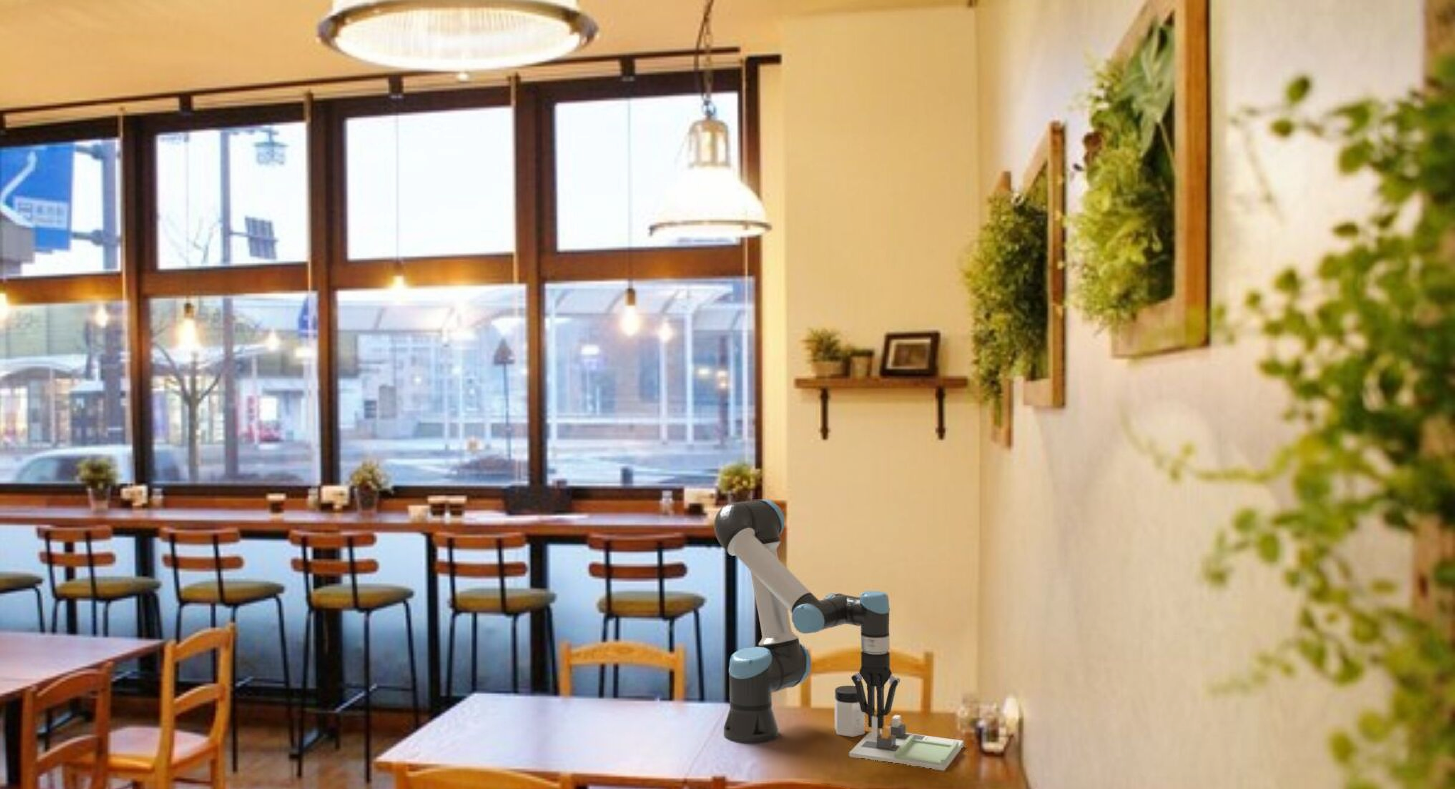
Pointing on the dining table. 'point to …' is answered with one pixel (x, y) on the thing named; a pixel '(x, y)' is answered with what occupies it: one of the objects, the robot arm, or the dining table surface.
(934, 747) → the panel
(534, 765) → the dining table surface
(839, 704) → the jar
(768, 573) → the robot arm
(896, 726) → the toggle plain
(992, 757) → the dining table surface
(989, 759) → the dining table surface
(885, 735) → the toggle tagged
